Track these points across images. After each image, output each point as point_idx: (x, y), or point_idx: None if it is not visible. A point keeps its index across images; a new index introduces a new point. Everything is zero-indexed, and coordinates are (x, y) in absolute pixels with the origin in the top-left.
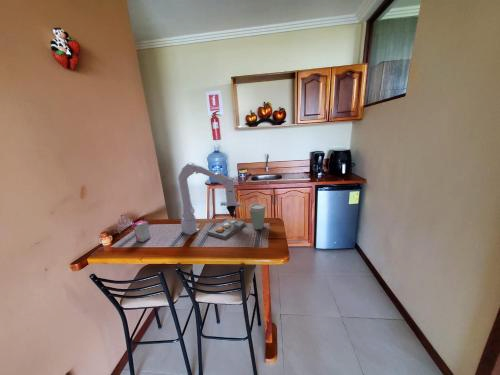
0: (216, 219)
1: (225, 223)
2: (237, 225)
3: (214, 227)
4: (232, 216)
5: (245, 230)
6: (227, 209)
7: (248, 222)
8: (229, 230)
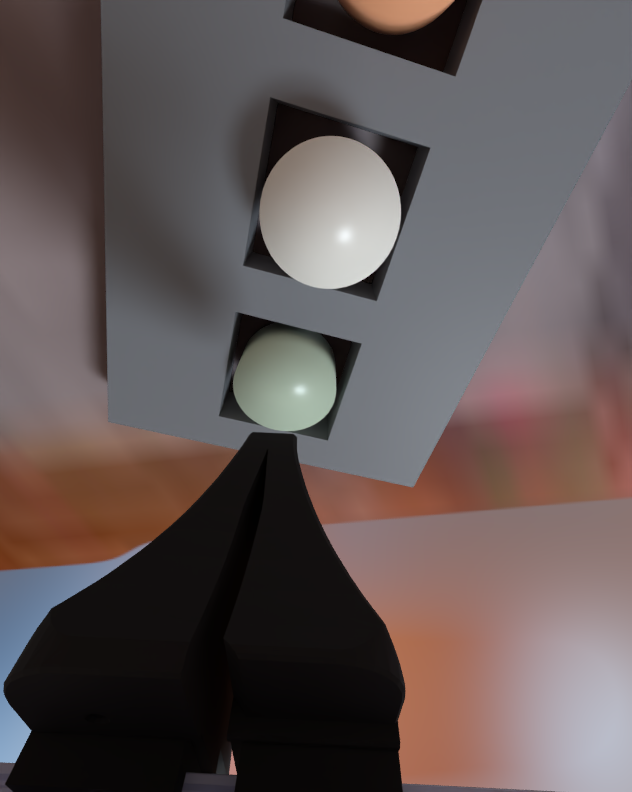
0: (602, 486)
1: (371, 256)
2: (153, 295)
3: (601, 109)
4: (249, 437)
5: (6, 227)
6: (349, 583)
7: (129, 463)
8: (180, 9)
